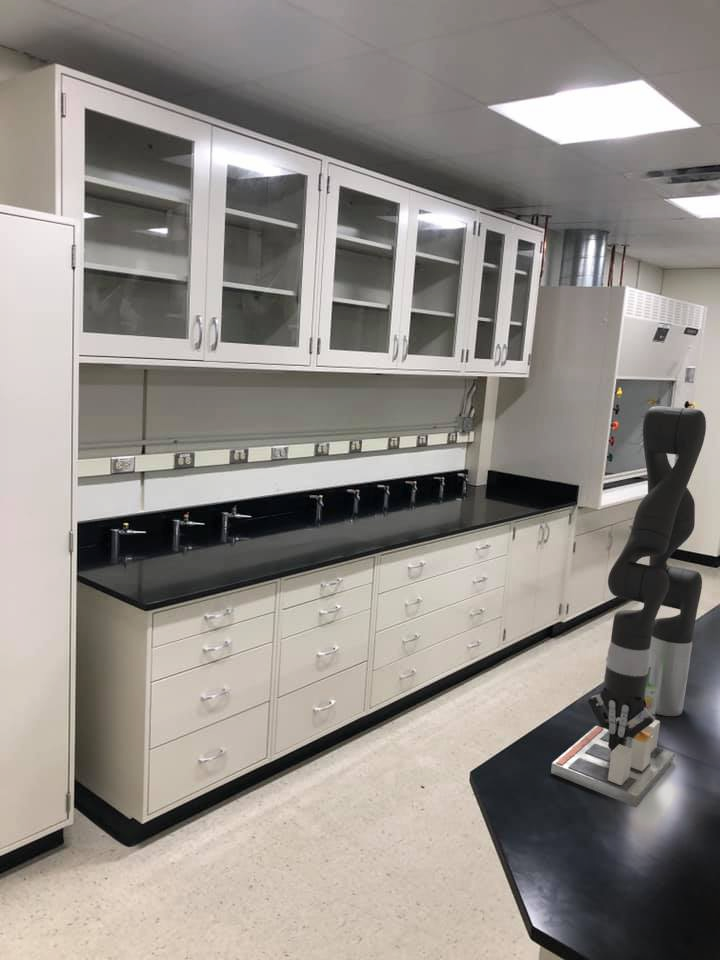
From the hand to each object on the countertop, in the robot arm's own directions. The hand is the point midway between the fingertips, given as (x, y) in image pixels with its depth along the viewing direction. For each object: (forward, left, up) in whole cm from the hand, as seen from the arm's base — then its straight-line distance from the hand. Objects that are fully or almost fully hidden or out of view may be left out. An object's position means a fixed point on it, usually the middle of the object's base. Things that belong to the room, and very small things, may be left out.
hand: (615, 751), depth 148 cm
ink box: (-20, -3, -3) cm, 20 cm away
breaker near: (+8, +4, -1) cm, 9 cm away
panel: (0, 0, -3) cm, 3 cm away
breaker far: (-8, +4, -1) cm, 9 cm away
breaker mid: (0, +5, -1) cm, 5 cm away
